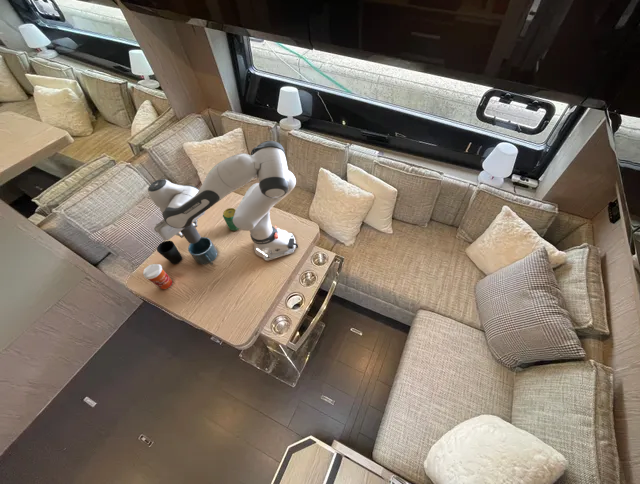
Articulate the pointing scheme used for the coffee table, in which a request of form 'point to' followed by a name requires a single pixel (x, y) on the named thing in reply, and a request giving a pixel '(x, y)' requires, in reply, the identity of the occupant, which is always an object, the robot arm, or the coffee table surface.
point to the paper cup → (157, 276)
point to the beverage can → (230, 218)
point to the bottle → (191, 234)
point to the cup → (169, 252)
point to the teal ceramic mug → (203, 251)
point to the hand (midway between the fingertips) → (189, 231)
